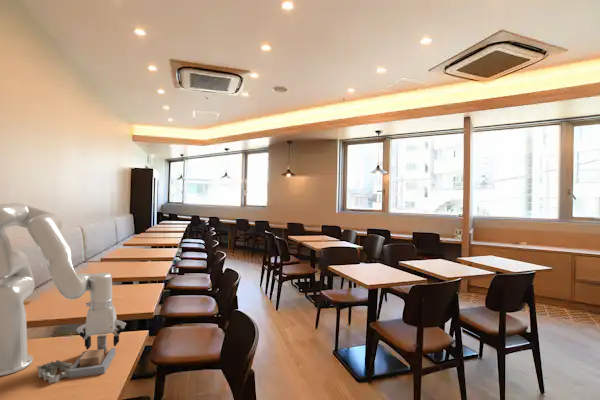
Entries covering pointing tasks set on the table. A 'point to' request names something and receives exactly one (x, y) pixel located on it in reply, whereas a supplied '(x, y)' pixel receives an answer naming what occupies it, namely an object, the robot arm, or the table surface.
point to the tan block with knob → (95, 353)
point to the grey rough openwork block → (54, 370)
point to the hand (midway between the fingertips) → (102, 346)
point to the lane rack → (91, 370)
